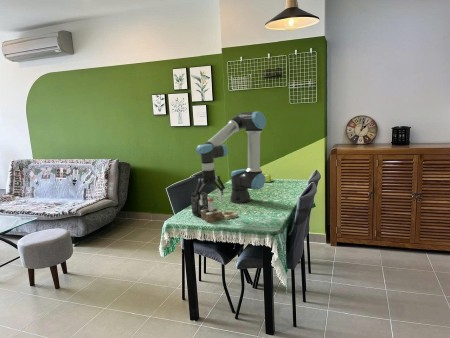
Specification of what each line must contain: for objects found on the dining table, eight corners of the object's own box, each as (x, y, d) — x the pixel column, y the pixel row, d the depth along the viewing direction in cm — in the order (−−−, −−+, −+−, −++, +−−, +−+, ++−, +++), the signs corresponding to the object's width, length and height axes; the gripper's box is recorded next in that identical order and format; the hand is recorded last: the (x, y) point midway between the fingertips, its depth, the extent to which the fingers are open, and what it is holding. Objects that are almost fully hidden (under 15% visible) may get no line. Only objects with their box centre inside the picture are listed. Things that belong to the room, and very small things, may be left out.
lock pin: (213, 217, 216) (211, 197, 214) (215, 219, 213) (214, 198, 211) (208, 218, 214) (206, 198, 212) (210, 220, 211) (209, 200, 209)
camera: (199, 218, 216) (197, 196, 213) (190, 215, 224) (188, 193, 222) (212, 215, 222) (210, 192, 219) (203, 211, 230) (202, 190, 228)
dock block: (215, 215, 220) (214, 207, 219) (222, 219, 212) (221, 210, 211) (201, 218, 216) (200, 210, 215) (208, 222, 207) (207, 214, 206)
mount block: (231, 213, 223) (231, 210, 223) (238, 216, 215) (238, 213, 215) (219, 216, 219) (218, 213, 219) (225, 219, 211) (225, 216, 211)
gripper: (223, 165, 217) (225, 197, 221) (187, 171, 206) (190, 205, 210) (228, 167, 210) (231, 200, 214) (191, 173, 199) (195, 208, 203)
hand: (211, 202), depth 212 cm, fingers open, 13 cm apart
